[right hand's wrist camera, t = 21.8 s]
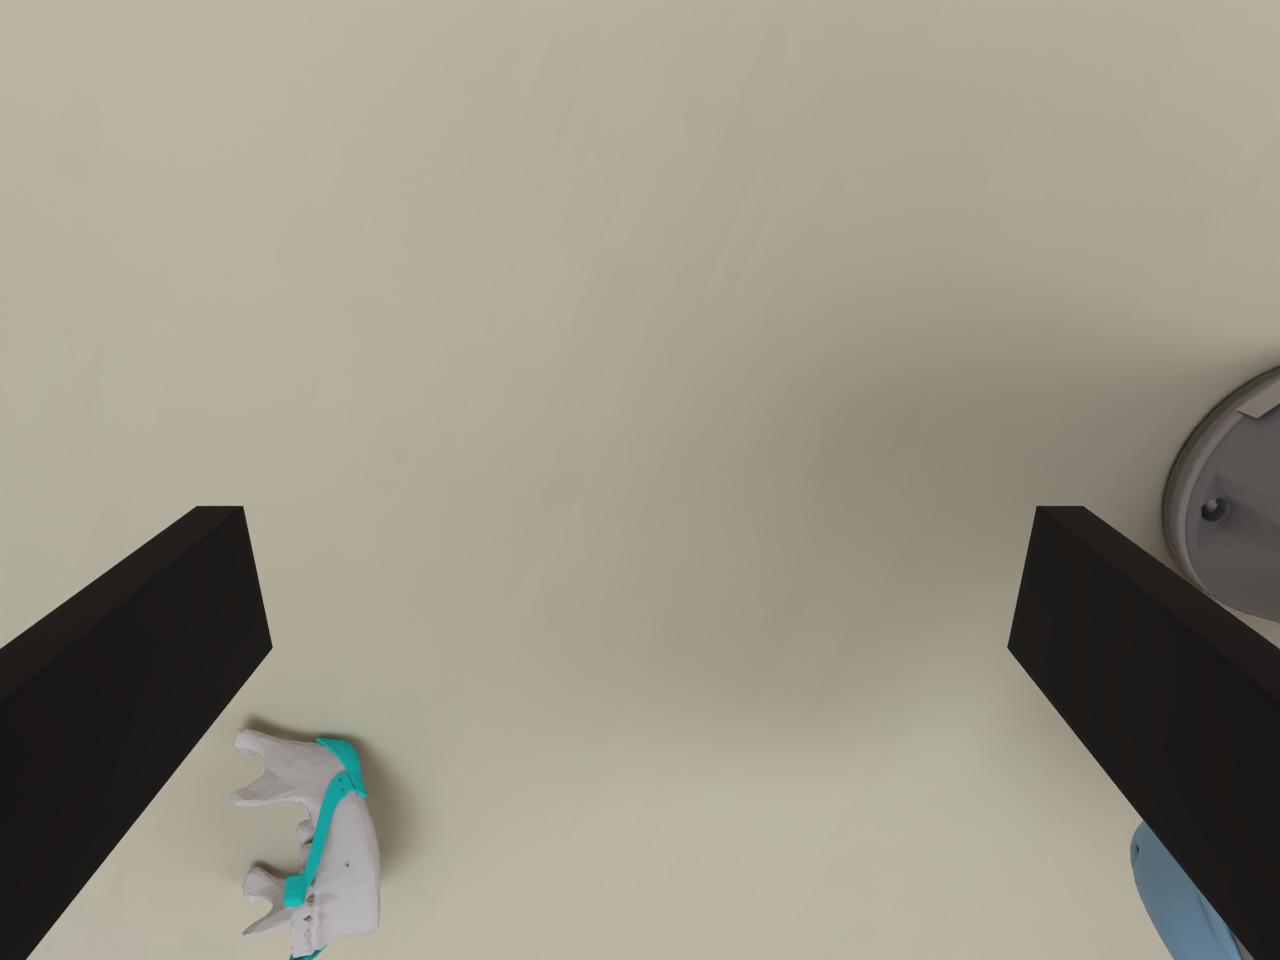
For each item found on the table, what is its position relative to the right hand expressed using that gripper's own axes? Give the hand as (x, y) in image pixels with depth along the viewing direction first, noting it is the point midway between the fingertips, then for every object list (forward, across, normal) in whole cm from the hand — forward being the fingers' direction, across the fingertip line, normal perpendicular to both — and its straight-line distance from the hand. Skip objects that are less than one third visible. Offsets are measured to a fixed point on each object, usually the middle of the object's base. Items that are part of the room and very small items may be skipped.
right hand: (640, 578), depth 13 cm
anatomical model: (+29, -21, -34) cm, 49 cm away
